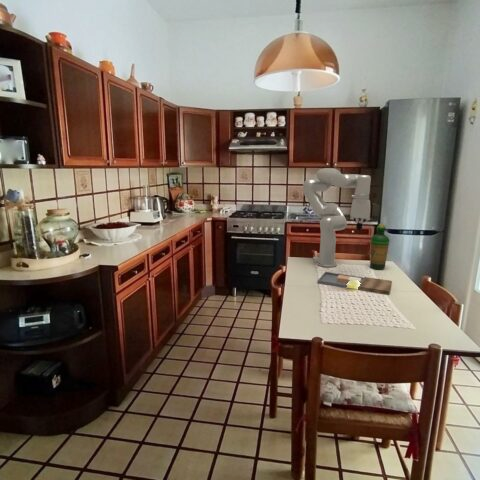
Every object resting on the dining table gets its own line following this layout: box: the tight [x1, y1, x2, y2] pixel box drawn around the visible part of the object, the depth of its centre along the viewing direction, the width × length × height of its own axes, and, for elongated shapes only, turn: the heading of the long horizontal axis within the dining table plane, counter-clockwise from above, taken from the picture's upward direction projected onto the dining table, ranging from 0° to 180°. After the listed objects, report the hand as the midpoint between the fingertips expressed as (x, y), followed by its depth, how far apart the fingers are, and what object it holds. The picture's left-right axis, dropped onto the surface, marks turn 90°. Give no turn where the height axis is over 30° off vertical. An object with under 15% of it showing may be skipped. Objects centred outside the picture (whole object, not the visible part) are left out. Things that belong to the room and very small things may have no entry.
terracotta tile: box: [337, 274, 350, 284], centre depth 187 cm, size 6×6×2 cm
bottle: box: [369, 223, 390, 271], centre depth 212 cm, size 11×11×28 cm
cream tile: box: [348, 277, 361, 283], centre depth 185 cm, size 6×6×2 cm
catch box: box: [316, 271, 365, 291], centre depth 188 cm, size 22×18×2 cm
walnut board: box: [359, 276, 393, 296], centre depth 180 cm, size 14×18×2 cm
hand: (358, 230), depth 193 cm, fingers closed
